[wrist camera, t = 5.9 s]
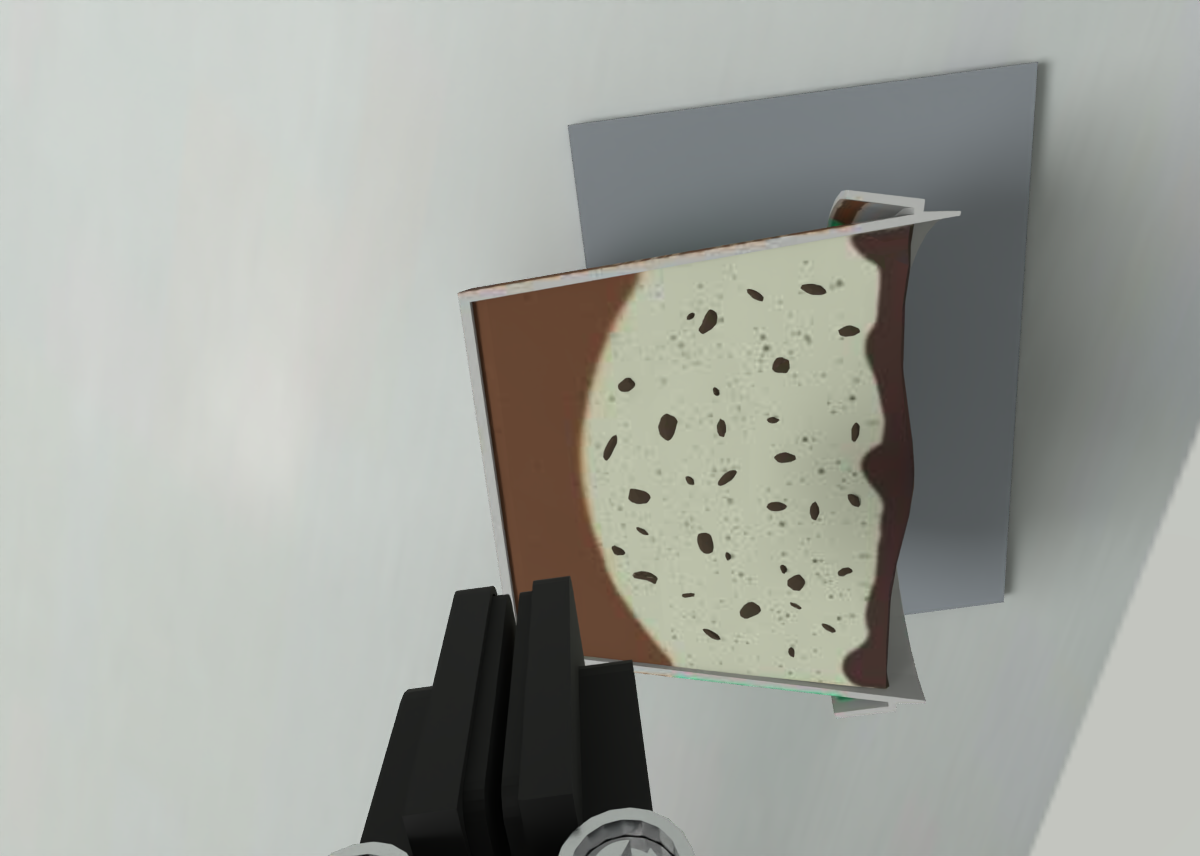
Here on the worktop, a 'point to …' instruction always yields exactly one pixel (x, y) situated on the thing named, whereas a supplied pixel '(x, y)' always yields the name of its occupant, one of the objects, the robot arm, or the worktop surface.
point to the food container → (715, 453)
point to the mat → (937, 277)
